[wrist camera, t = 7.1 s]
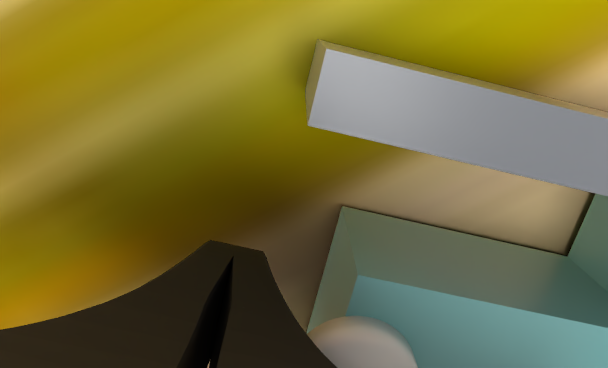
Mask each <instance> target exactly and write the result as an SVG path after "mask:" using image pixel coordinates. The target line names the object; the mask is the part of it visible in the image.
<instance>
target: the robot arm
mask: <svg viewBox="0 0 608 368" xmlns="http://www.w3.org/2000/svg"><path fill="white" fill-rule="evenodd" d="M209 361H210V365H209V368H337V367H336V366H335V365H334V364H333V363H332V362H331V361H330V360H329V359H328V358H327V357H326V356H325V355H324V354H323V353H322V352H321V351H320V349H319V348H318V347H317V346H316V345H315V344H314V343H313V341H312V340H311V339H310V338H309V336H308V335H307V334H306V333H305V331H304V330H303V329H302V328H301V326H300V325H299V323H298V322H297V320H296V319H295V317H294V316H293V314H292V312H291V311H290V309H289V307H288V306H287V304H286V302H285V300H284V298H283V296H282V294H281V292H280V290H279V288H278V286H277V284H276V282H275V280H274V277H273V275H272V273H271V270H270V267H269V265H268V261H267V258H266V256H265V254H264V252H263V251H258V250H254V249H249V248H245V247H240V246H235V245H231V244H226V243H221V242H217V241H212V240H210V241H208V242H206V243H205V244H203V245H202V246H201V247H200V248H198V249H197V250H196V251H195V252H193V253H192V254H191V255H189V256H188V257H187V258H185V259H184V260H183V261H181V262H180V263H178V264H177V265H175V266H174V267H172V268H171V269H169V270H168V271H167V272H165V273H163V274H162V275H160V276H158V277H157V278H155V279H153V280H152V281H150V282H148V283H146V284H145V285H143V286H141V287H139V288H137V289H135V290H133V291H131V292H129V293H127V294H124V295H122V296H120V297H117V298H115V299H113V300H110V301H108V302H105V303H102V304H99V305H96V306H93V307H90V308H87V309H84V310H81V311H78V312H75V313H72V314H69V315H66V316H62V317H58V318H54V319H50V320H46V321H42V322H38V323H33V324H28V325H24V326H19V327H14V328H8V329H3V330H0V368H207V366H208V364H209Z"/></svg>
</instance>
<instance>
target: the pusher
mask: <svg viewBox="0 0 608 368" xmlns="http://www.w3.org/2000/svg"><path fill="white" fill-rule="evenodd" d="M306 334H307V335H308V336H309V338H310V339H311V340H312V341H313V343H314V344H315V345H316V346H317V347H318V348H319V349H320V351H321V352H322V353H323V354H324V355H325V356H326V357H327V358H328V359H329V360H330V361H331V362H332V363H333V364H334V365H335V366H336V367H337V368H608V196H604V195H600V194H595V196H594V198H593V201H592V203H591V205H590V207H589V209H588V212H587V214H586V216H585V218H584V221H583V223H582V225H581V227H580V230H579V232H578V234H577V236H576V238H575V241H574V243H573V245H572V247H571V250H570V252H569V254H568V256H563V255H558V254H554V253H550V252H545V251H541V250H536V249H532V248H527V247H523V246H518V245H514V244H509V243H505V242H500V241H496V240H491V239H487V238H483V237H478V236H474V235H469V234H465V233H460V232H456V231H451V230H447V229H442V228H438V227H433V226H429V225H424V224H420V223H416V222H411V221H407V220H402V219H398V218H393V217H389V216H384V215H380V214H375V213H371V212H366V211H362V210H357V209H353V208H349V207H344V206H342V208H341V212H340V215H339V219H338V223H337V226H336V230H335V233H334V237H333V240H332V244H331V247H330V251H329V254H328V258H327V262H326V265H325V269H324V272H323V276H322V279H321V283H320V286H319V290H318V293H317V297H316V300H315V304H314V308H313V311H312V315H311V318H310V322H309V325H308V329H307V332H306Z"/></svg>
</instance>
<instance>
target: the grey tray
mask: <svg viewBox="0 0 608 368" xmlns="http://www.w3.org/2000/svg"><path fill="white" fill-rule="evenodd" d="M305 98H306V111H307V124H308V126H312V127H316V128H320V129H325V130H329V131H333V132H337V133H341V134H346V135H350V136H354V137H358V138H363V139H367V140H371V141H375V142H380V143H384V144H388V145H392V146H397V147H401V148H405V149H409V150H413V151H418V152H422V153H426V154H430V155H435V156H439V157H443V158H447V159H452V160H456V161H460V162H464V163H469V164H473V165H477V166H481V167H485V168H490V169H494V170H498V171H502V172H507V173H511V174H515V175H519V176H524V177H528V178H532V179H536V180H541V181H545V182H549V183H553V184H558V185H562V186H566V187H570V188H574V189H579V190H583V191H587V192H591V193H596V194H600V195H604V196H608V112H605V111H601V110H597V109H593V108H589V107H585V106H581V105H577V104H573V103H570V102H566V101H562V100H558V99H554V98H550V97H546V96H542V95H538V94H534V93H530V92H526V91H522V90H518V89H514V88H510V87H506V86H502V85H498V84H494V83H490V82H486V81H482V80H478V79H474V78H470V77H466V76H462V75H458V74H454V73H450V72H446V71H442V70H438V69H434V68H430V67H426V66H422V65H418V64H414V63H410V62H406V61H402V60H398V59H394V58H390V57H386V56H382V55H378V54H374V53H370V52H366V51H362V50H358V49H354V48H350V47H346V46H342V45H338V44H334V43H330V42H326V41H322V40H318V39H317V43H316V47H315V52H314V56H313V60H312V64H311V68H310V73H309V77H308V81H307V85H306V89H305Z"/></svg>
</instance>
